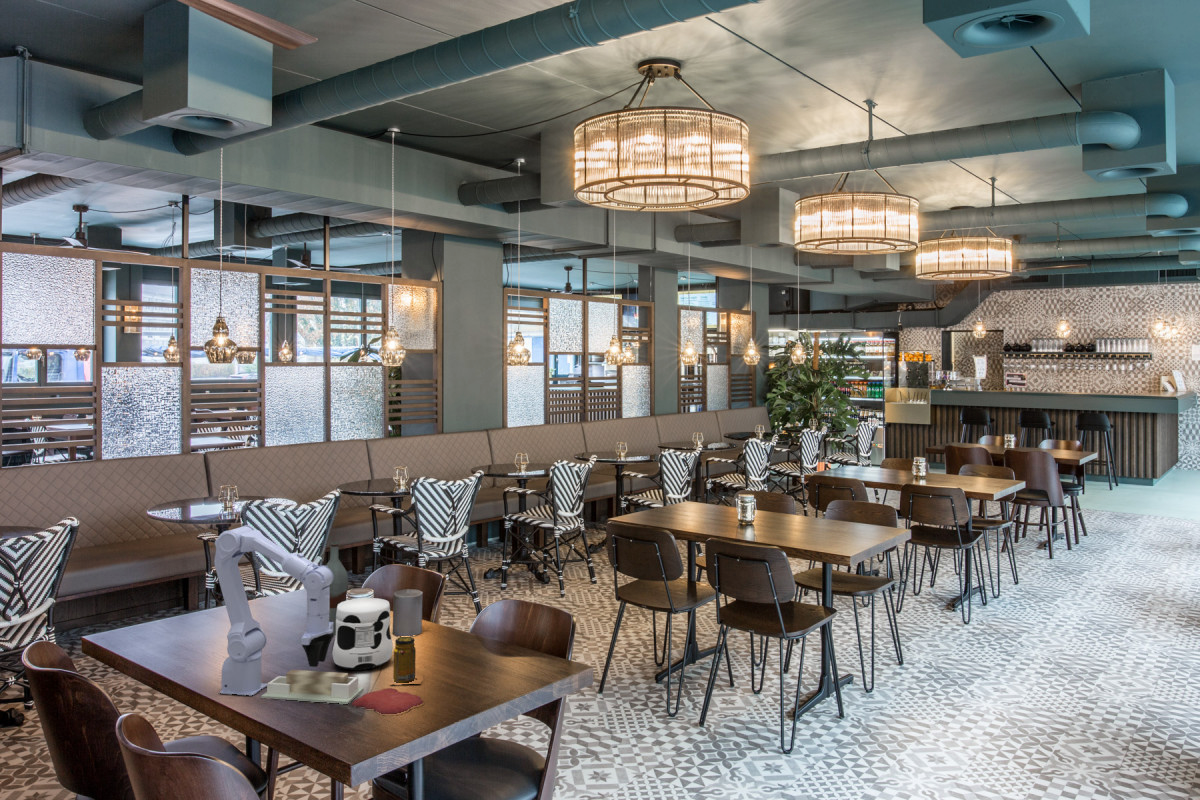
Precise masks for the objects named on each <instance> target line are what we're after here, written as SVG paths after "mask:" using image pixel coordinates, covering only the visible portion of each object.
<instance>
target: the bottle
mask: <svg viewBox="0 0 1200 800" xmlns="http://www.w3.org/2000/svg"><path fill="white" fill-rule="evenodd" d="M329 551H330V553H329V560H328V562H327V563H326V564H325V566H327V567H328V568H329V569H330V570H331V571H332V572H333V581H332V583H331V584H330V585H329V586H330V594H329V595H330V599H329V622H333V632H332V633H333V634H334V636H336V612H337V606H338V604H339V603H341V602H344V601H347V598H346V594H348V587H349V577H348V572H347V569H346V568H345V567H344V565H343V564H342V562H341V560H340V559H339V543H338V542H330V550H329ZM326 588H327V587H326Z"/></svg>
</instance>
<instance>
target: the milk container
mask: <svg viewBox="0 0 1200 800" xmlns="http://www.w3.org/2000/svg"><path fill="white" fill-rule="evenodd" d="M390 615H391V605H390V601H388V600H386V599H382V598H378V597H377V598H375V597H362V598H359V597H358V598H353V599H346V601H344V602H341V603H339V604H338V606H337V612H336V635H334V640H333V643H332V644H333V645H332V648H331V651H332V659H333V662H334V664H335V665H336V666H338V667H339V668H342V669H345V670H353V671H359V670H361V671H364V670H370V669H375V668H377V667H382V666H383V665H385V664H386V663H388V662H389V661H390V660H391V657H392V655H393V650H394V649H393V648H394V647H393V639H392V635H391V630H390V629H391V627H390V626H391V616H390Z"/></svg>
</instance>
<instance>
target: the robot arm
mask: <svg viewBox="0 0 1200 800" xmlns="http://www.w3.org/2000/svg"><path fill="white" fill-rule="evenodd" d="M214 546H215V549H216V550H215V555H214V560H213V561H214V563H213V564H214V568H215V572H216V575H217V578H218V582H219V587H220V589H221V593H222V596H223V602H224V605H225V608H226V612H227V616H228V619H229V623H230V629H229V630H228V633H227V635H226V639H227V648H226V651H227V653H228V654H227V655H228V657H227V658H225V660H224V661H223V664H222V667H221V688H220V689H221V690H220V691H219V694H220V693H221V695H232V694H237V695H236V696H246V695H249V697H251V696H252V695H253V696H255V695H256V694H257V693H259V692H260V691H262V690H263V689H264V688H267V683H263V682H262V654H263V649H264V648H265V647H266V645H267V642H268V639H267V638H268V637H267V635H266V633H265V632H264V630H263V629H262V627H261V625H260V622H259V621H257V620H255V619H254V618H253V616H252V611H251V607H250V603H249V600H248V598H247V597H248V596H247V592H246V590H245V586H244V582H243V578H242V575H241V571H240V568H239V562H240V560H241V559H242V558H243V556H244V555H245V553H247V552H250V553H251V552H257V553H259V554H261V555H263V556H265V557H266V558H268V559H270V560H272V561H274V562H276V563H277V564H280V565H281V568H282V569H281V570H282V571H283V572H284V573H285V574H287V575H289V576H290V577H292V578H293V579H295V580H297V581H299V582H300V583H302V585H303V588H304V589H305V591H306V630H305V631H304V634H303V635H302V637H300V645H301V647H302V648H303V650H304V652H305V654H306V657H307V661H308V665H309V667H312V668H317V667H318V666H319V662H320V663H321V662H322V663H324V662H325V661H326V657H327V654H328V650H329V647H330V644H331V642H332V640H333V638H334V637H335V635H334V634H333V633H332V632H333V622H329V599H330V595H329V594H330V586H329V585H330V584H331V583H332V581H333V572H332V571H331V570H330V569H329V568H328V567H327V566H326V565H319V563H317V562H313V561H311V560H309V559H307V558H306V557H305V555H304V553H302V552H299V553H298V552H293V553H292V552H291V553H289V552H288V551H286V550H284V548H282V547H280V546H279V545H277V544H276V543H275V542H273V541H272V540H270V539H269V538H268V537H266V536H265V535H263V533H262V532H261V530H258V529H255V528H254V527H253V526H251V525H241V526H240V527H237V528H234V529H230V530H225V531H223V532H222V533H220V534H219V536H218V537H217V538H216V540H215V541H214ZM326 587H327V588H326ZM261 689H262V690H261Z"/></svg>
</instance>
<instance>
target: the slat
mask: <svg viewBox="0 0 1200 800" xmlns="http://www.w3.org/2000/svg"><path fill="white" fill-rule="evenodd" d="M285 677H286V684H290V692H291V693H306V694H321V695H331V690H332V683H340V684H348V677H349V673H348V672H334V671H318V670H317V671H316V670H304V669H303V670H299V669H290V670H288V672H286V673H285Z"/></svg>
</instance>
